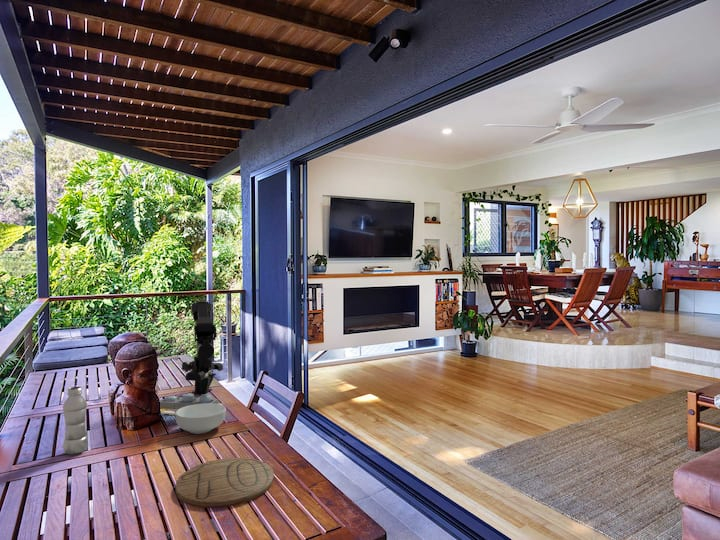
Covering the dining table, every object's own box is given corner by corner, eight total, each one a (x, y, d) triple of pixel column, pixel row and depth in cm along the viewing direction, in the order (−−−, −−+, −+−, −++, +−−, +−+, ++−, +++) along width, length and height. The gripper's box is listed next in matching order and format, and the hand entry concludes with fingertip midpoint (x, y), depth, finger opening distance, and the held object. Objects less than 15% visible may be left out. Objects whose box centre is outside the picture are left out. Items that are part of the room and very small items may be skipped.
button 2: (186, 400, 189) (186, 393, 189) (196, 401, 188) (195, 393, 188) (179, 403, 184) (179, 396, 184) (190, 404, 183) (190, 396, 183)
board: (169, 402, 194) (169, 394, 194) (223, 405, 190) (223, 397, 190) (148, 413, 180) (148, 405, 180) (205, 417, 176) (205, 408, 176)
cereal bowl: (235, 429, 164) (235, 409, 163) (190, 442, 151) (190, 421, 151) (210, 418, 175) (210, 399, 175) (166, 430, 163) (166, 410, 163)
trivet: (177, 519, 107) (177, 510, 107) (173, 473, 130) (173, 466, 130) (283, 496, 117) (283, 489, 117) (263, 458, 140) (263, 451, 140)
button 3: (203, 401, 187) (203, 394, 187) (213, 402, 186) (213, 394, 186) (197, 404, 183) (197, 397, 183) (207, 405, 182) (207, 397, 182)
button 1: (169, 402, 190) (169, 395, 190) (179, 403, 189) (179, 395, 189) (162, 405, 186) (162, 398, 186) (172, 406, 185) (172, 399, 185)
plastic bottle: (62, 458, 139) (61, 392, 139) (64, 450, 145) (63, 386, 145) (87, 454, 142) (86, 389, 142) (88, 446, 148) (87, 384, 148)
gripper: (198, 348, 195) (198, 385, 195) (172, 357, 177) (173, 398, 177) (223, 349, 193) (223, 386, 193) (199, 359, 174) (200, 400, 175)
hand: (205, 392), depth 185 cm, fingers closed
